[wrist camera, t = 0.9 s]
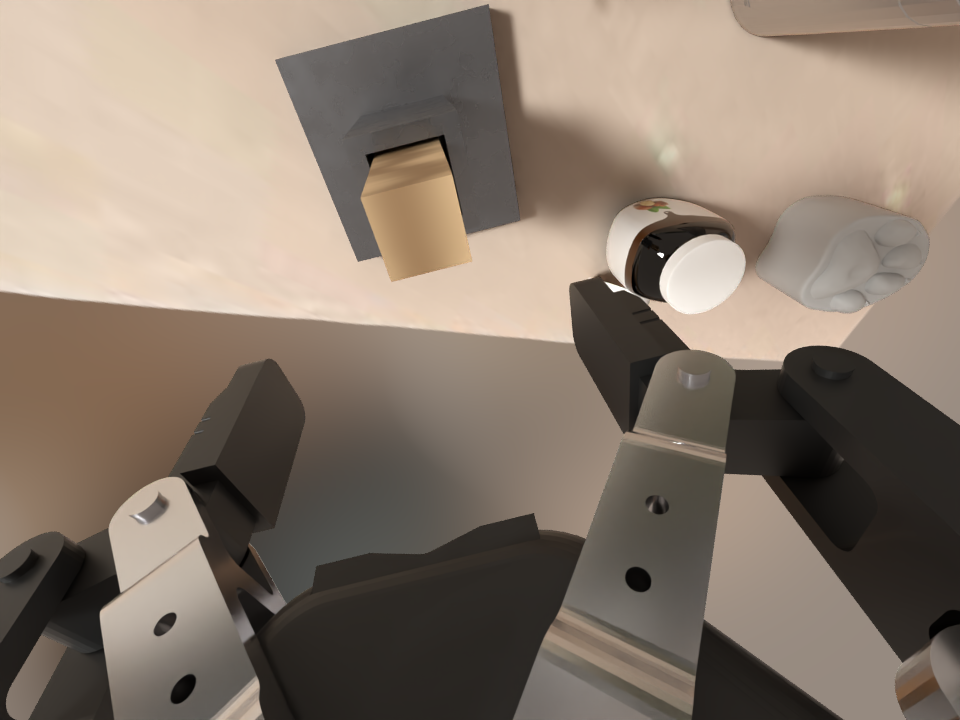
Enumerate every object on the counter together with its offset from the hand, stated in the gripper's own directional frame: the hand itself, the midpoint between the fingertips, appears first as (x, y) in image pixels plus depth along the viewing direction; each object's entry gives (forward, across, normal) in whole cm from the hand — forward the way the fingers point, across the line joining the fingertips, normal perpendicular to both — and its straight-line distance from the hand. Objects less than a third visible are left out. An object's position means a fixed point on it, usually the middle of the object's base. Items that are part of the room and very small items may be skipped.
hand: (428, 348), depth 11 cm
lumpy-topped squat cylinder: (+32, -42, +20) cm, 56 cm away
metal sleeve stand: (+32, 0, 0) cm, 32 cm away
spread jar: (+32, -20, +15) cm, 41 cm away
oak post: (+29, 0, 0) cm, 29 cm away
